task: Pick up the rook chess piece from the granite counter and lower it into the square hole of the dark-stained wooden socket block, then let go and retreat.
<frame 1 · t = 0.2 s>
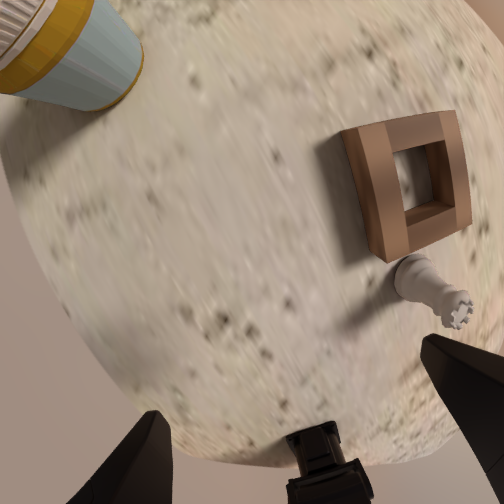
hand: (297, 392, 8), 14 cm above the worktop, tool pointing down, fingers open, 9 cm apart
socket: (406, 177, 20), on the worktop
rook chess piece: (409, 273, 24), on the worktop
bottle: (104, 71, 16), on the worktop
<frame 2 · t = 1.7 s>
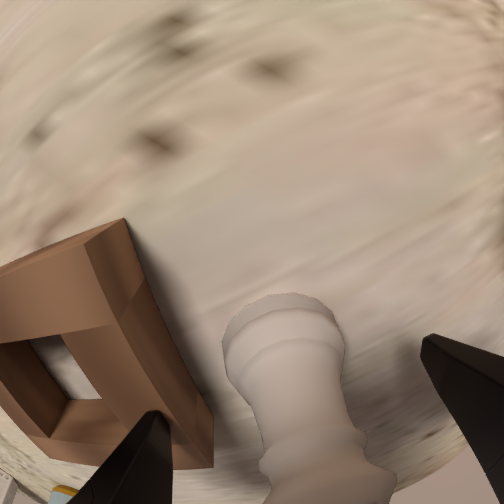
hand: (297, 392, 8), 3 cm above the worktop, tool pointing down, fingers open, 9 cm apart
skincare box: (5, 474, 18), on the worktop
socket: (76, 356, 10), on the worktop
rook chess piece: (278, 335, 11), on the worktop
bottle: (83, 496, 17), on the worktop
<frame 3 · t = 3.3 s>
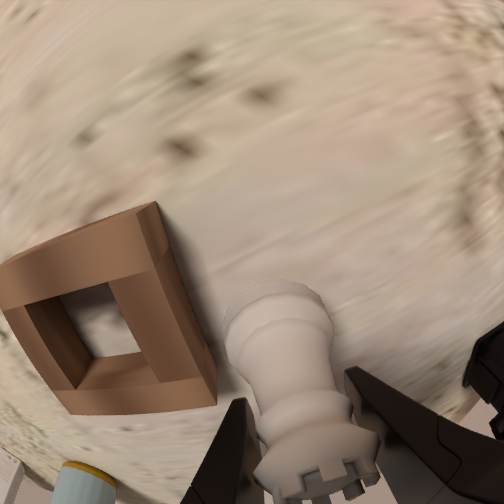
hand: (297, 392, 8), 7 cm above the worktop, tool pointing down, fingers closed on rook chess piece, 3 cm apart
skincare box: (13, 458, 21), on the worktop
socket: (106, 315, 14), on the worktop
rook chess piece: (273, 320, 12), point 2 cm above the worktop, touching gripper
bottle: (91, 472, 21), on the worktop
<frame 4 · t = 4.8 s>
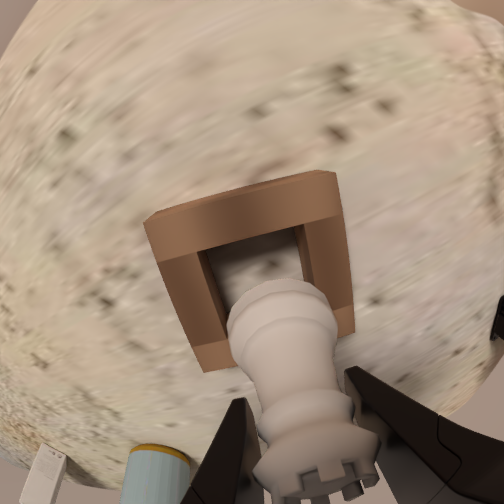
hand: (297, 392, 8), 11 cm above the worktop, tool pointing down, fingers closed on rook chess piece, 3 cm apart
skincare box: (55, 454, 25), on the worktop
socket: (256, 266, 18), on the worktop
rook chess piece: (278, 318, 12), point 6 cm above the worktop, touching gripper
bottle: (160, 455, 25), on the worktop
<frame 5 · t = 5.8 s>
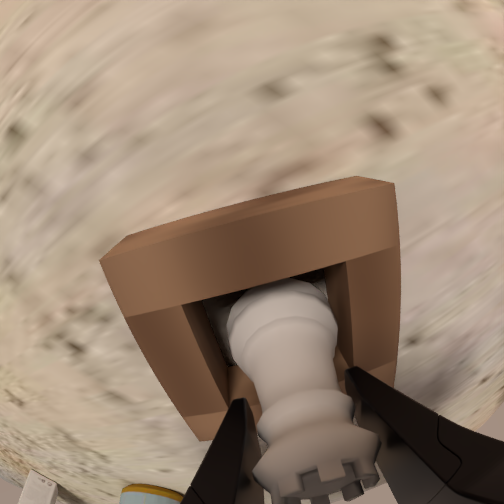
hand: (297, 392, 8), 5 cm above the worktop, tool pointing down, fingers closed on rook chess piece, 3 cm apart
skincare box: (45, 479, 20), on the worktop
socket: (269, 309, 13), on the worktop
rook chess piece: (278, 318, 12), point 1 cm above the worktop, touching gripper
bottle: (155, 493, 19), on the worktop
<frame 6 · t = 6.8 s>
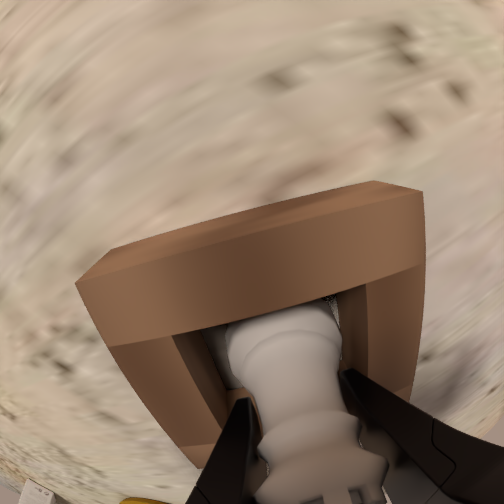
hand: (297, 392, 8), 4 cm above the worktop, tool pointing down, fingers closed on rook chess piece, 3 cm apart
skincare box: (42, 488, 18), on the worktop
socket: (273, 331, 11), on the worktop
rook chess piece: (279, 328, 11), resting in socket, touching gripper
when the fingers open (4 cm above the worktop, at t = 7.0 s): rook chess piece stays where it is, resting in socket.
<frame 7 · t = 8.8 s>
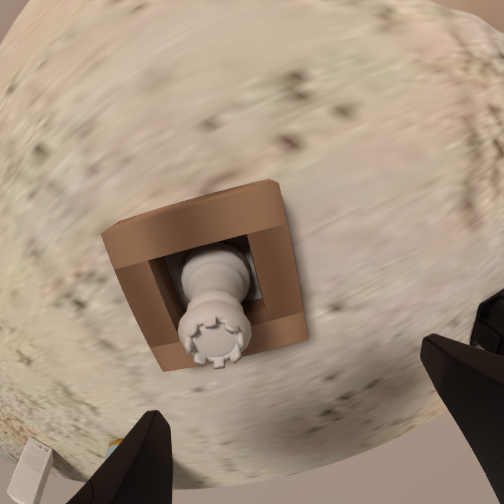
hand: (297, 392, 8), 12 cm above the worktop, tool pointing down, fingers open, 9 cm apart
skincare box: (42, 448, 25), on the worktop
socket: (211, 272, 19), on the worktop
rook chess piece: (216, 271, 19), resting in socket
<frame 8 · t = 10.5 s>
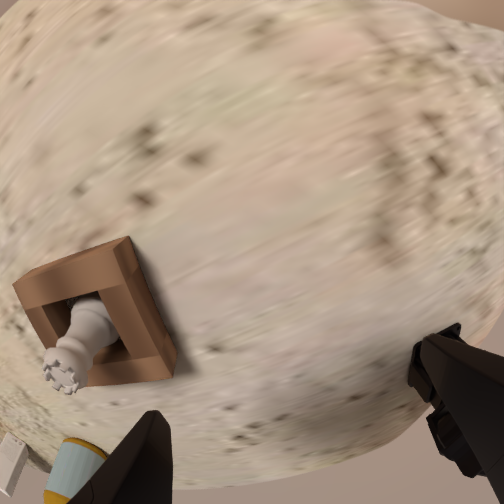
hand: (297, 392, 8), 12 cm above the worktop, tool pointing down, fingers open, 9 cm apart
skincare box: (19, 442, 27), on the worktop
socket: (98, 312, 19), on the worktop
rook chess piece: (103, 311, 20), resting in socket
bottle: (86, 448, 26), on the worktop
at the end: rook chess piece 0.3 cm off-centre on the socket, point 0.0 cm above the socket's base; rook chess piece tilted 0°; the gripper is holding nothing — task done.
